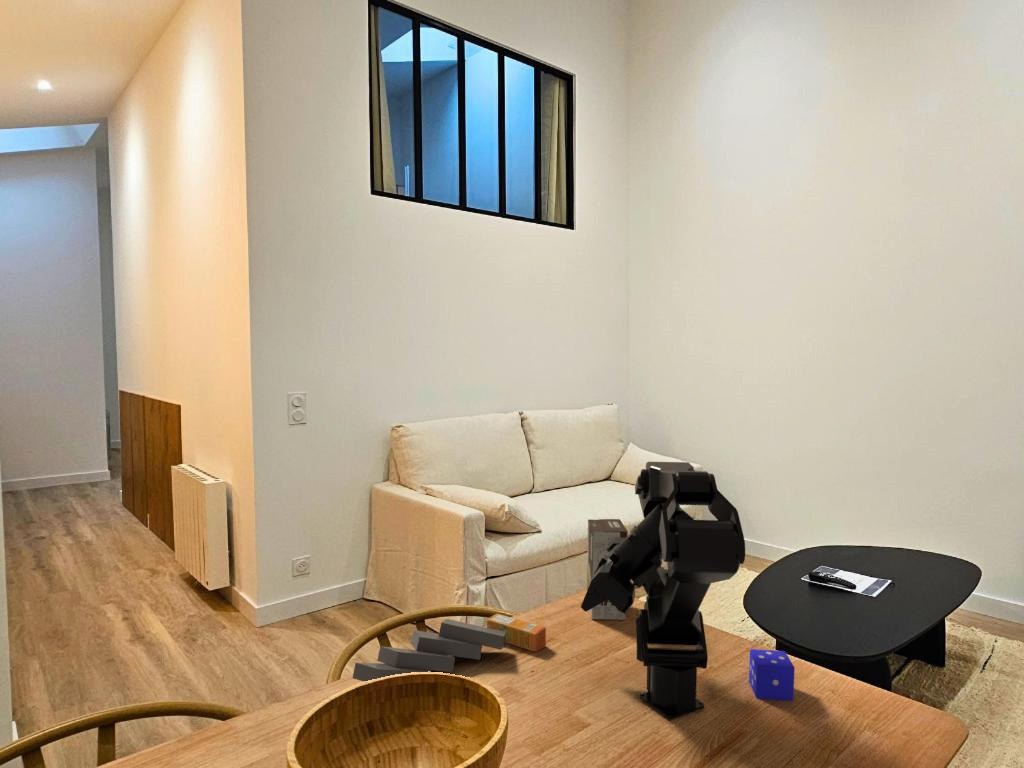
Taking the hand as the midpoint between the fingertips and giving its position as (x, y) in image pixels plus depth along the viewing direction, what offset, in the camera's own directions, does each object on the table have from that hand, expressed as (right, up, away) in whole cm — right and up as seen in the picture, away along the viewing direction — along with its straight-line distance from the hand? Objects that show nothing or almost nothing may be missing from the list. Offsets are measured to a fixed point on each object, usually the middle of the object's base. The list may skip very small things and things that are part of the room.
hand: (583, 608), depth 106 cm
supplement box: (-6, -7, +5) cm, 11 cm away
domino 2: (-21, -7, -2) cm, 22 cm away
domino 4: (-12, -6, +3) cm, 14 cm away
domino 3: (-16, -7, +3) cm, 18 cm away
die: (+26, -10, -7) cm, 29 cm away
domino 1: (-25, -8, -6) cm, 26 cm away
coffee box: (+6, -8, +22) cm, 24 cm away
